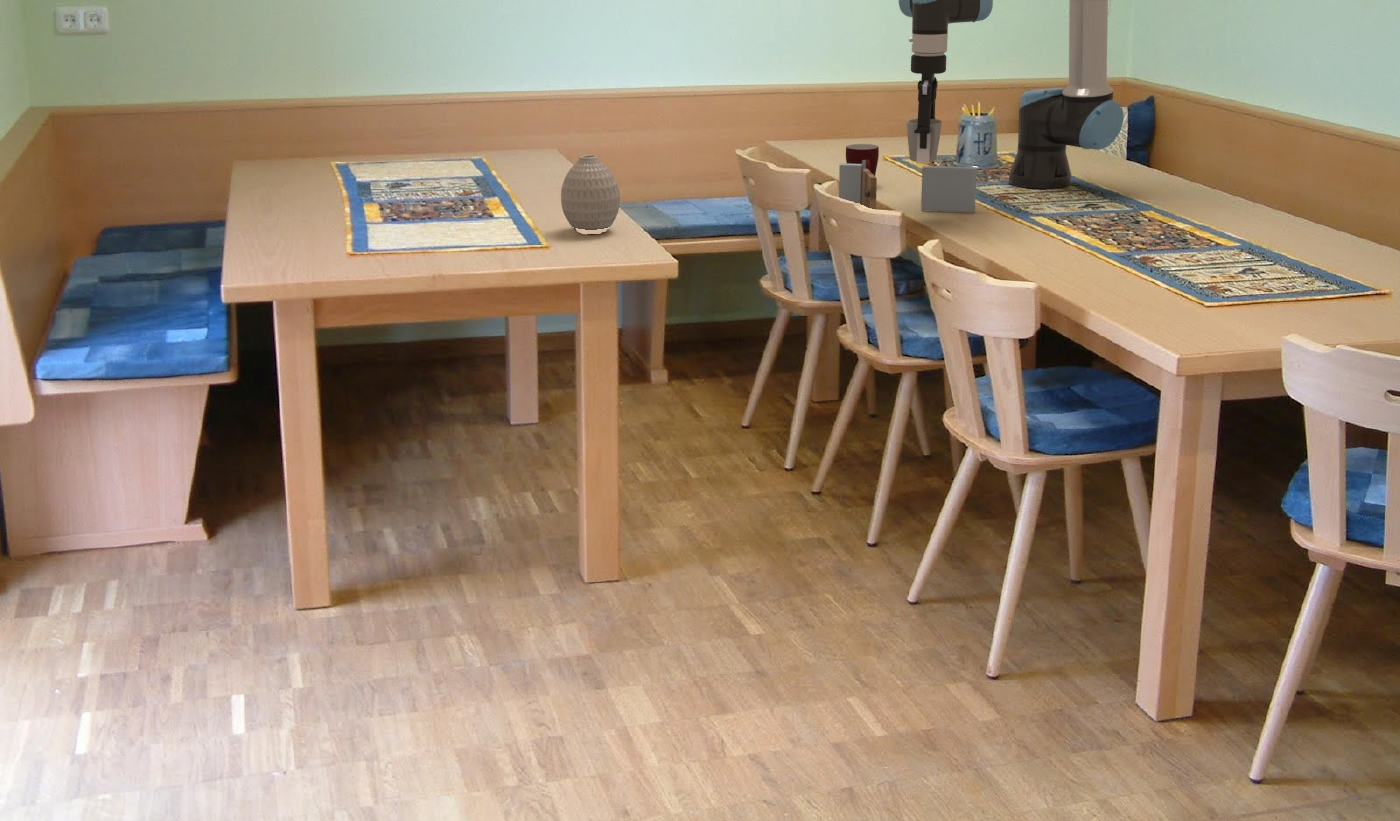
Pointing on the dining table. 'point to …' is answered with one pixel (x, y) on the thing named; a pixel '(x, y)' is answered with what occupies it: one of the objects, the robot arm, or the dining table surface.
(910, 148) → the cup
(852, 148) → the mug
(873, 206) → the door
